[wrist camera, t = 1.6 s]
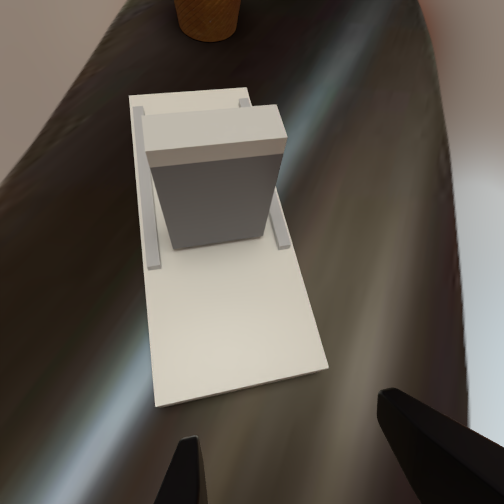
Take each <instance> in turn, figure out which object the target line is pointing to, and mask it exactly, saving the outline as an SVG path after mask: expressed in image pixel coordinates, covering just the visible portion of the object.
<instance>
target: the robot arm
mask: <svg viewBox="0 0 504 504" xmlns="http://www.w3.org/2000/svg"><path fill="white" fill-rule="evenodd" d="M377 419H378V422H379V425H380V427H381V429H382V431H383V433H384V435H385V437H386V439H387V441H388V443H389V445H390V447H391V449H392V451H393V452H394V454H395V456H396V458H397V460H398V462H399V464H400V466H401V468H402V470H403V472H404V474H405V476H406V478H407V480H408V482H409V484H410V485H411V487H412V489H413V491H414V492H415V494H416V496H417V497H418V499H419V500H420V502H421V504H504V447H502V446H500V445H499V444H497V443H495V442H493V441H491V440H489V439H488V438H486V437H484V436H482V435H480V434H479V433H477V432H475V431H473V430H471V429H469V428H468V427H466V426H464V425H462V424H460V423H459V422H457V421H455V420H453V419H451V418H449V417H448V416H446V415H444V414H442V413H440V412H439V411H437V410H435V409H433V408H431V407H430V406H428V405H426V404H424V403H422V402H420V401H419V400H417V399H415V398H413V397H411V396H410V395H408V394H406V393H404V392H402V391H400V390H399V389H397V388H388V389H384V390H380V391H379V393H378V401H377ZM154 504H208V500H207V490H206V481H205V472H204V464H203V458H202V452H201V447H200V442H199V438H198V436H196V435H194V436H190V437H186V438H182V439H181V440H180V441H179V443H178V446H177V448H176V450H175V453H174V455H173V458H172V460H171V463H170V465H169V467H168V470H167V472H166V475H165V477H164V480H163V482H162V485H161V487H160V489H159V492H158V494H157V497H156V499H155V502H154Z"/></svg>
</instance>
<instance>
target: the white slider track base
mask: <svg viewBox="0 0 504 504" xmlns="http://www.w3.org/2000/svg"><path fill="white" fill-rule="evenodd" d="M129 102H130V114H131V125H132V137H133V149H134V161H135V173H136V184H137V196H138V208H139V220H140V232H141V243H142V255H143V267H144V279H145V291H146V302H147V314H148V326H149V338H150V350H151V361H152V373H153V385H154V397H155V407H167V406H171V405H176V404H180V403H184V402H189V401H193V400H198V399H202V398H207V397H211V396H215V395H220V394H224V393H229V392H233V391H237V390H242V389H246V388H251V387H255V386H259V385H264V384H268V383H273V382H277V381H282V380H286V379H290V378H295V377H299V376H304V375H308V374H312V373H317V372H320V371H322V370H325V369H327V368H329V367H328V363H327V360H326V357H325V353H324V350H323V346H322V343H321V340H320V336H319V333H318V329H317V326H316V323H315V319H314V316H313V312H312V309H311V306H310V302H309V299H308V295H307V292H306V289H305V285H304V282H303V278H302V275H301V272H300V268H299V265H298V261H297V258H296V255H295V251H294V248H293V244H292V241H291V238H290V234H289V231H288V227H287V224H286V221H285V217H284V214H283V210H282V207H281V204H280V200H279V197H278V193H277V190H276V187H275V190H274V194H273V198H272V202H271V206H270V210H269V214H268V218H267V222H266V226H265V230H264V234H263V236H259V237H252V238H245V239H239V240H232V241H225V242H218V243H212V244H205V245H198V246H192V247H185V248H178V249H173V247H172V244H171V240H170V237H169V233H168V230H167V226H166V223H165V219H164V216H163V212H162V209H161V205H160V202H159V198H158V195H157V191H156V188H155V184H154V181H153V177H152V174H151V170H150V167H149V163H148V160H147V156H146V153H145V146H144V136H143V127H142V117H141V115H153V114H165V113H178V112H190V111H203V110H215V109H227V108H240V107H252V105H251V101H250V98H249V95H248V91H247V88H232V89H218V90H204V91H190V92H175V93H161V94H147V95H133V96H129Z"/></svg>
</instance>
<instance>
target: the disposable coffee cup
mask: <svg viewBox="0 0 504 504" xmlns="http://www.w3.org/2000/svg"><path fill="white" fill-rule="evenodd" d="M240 1H241V0H174V3H175V7H176V12H177V16H178V21H179V26H180V28H181V30H182V31H183V32H184V33H185V34H186V35H188V36H189V37H191V38H193V39H196V40H199V41H205V42H216V41H221V40H224V39H226V38H228V37H230V36H231V35H232V34H233V33H234V32H235V30H236V25H237V19H238V13H239V7H240Z"/></svg>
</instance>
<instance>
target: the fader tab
mask: <svg viewBox="0 0 504 504" xmlns="http://www.w3.org/2000/svg"><path fill="white" fill-rule="evenodd" d="M141 117H142V127H143V136H144V146H145V153H146V156H147V160H148V163H149V167H150V170H151V174H152V177H153V181H154V184H155V188H156V191H157V195H158V198H159V202H160V205H161V209H162V212H163V216H164V219H165V223H166V226H167V230H168V233H169V237H170V240H171V244H172V247H173V249H178V248H185V247H192V246H198V245H205V244H212V243H218V242H225V241H232V240H239V239H245V238H252V237H259V236H263V234H264V230H265V226H266V222H267V218H268V214H269V210H270V206H271V202H272V198H273V194H274V190H275V186H276V182H277V178H278V174H279V170H280V165H281V161H282V157H283V153H284V149H285V145H286V141H287V134H286V131H285V128H284V125H283V122H282V120H281V117H280V114H279V111H278V108H277V105H264V106H252V107H240V108H227V109H215V110H203V111H190V112H178V113H165V114H153V115H141Z"/></svg>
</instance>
